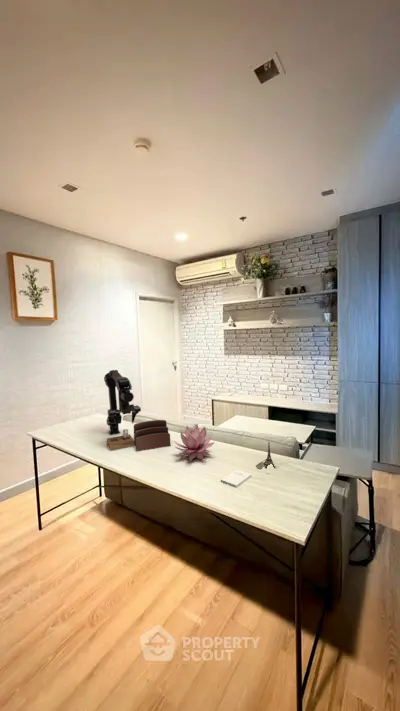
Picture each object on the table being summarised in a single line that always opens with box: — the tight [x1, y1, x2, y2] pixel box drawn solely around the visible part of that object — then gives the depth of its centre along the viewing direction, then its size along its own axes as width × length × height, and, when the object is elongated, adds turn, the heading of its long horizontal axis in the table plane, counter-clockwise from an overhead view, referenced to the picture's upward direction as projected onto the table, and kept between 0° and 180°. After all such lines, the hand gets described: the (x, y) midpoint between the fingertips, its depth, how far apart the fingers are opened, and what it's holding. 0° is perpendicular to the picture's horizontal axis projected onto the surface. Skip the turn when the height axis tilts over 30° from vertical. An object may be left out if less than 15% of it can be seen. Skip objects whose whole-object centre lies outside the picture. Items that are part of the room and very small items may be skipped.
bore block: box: [106, 433, 135, 452], centre depth 178 cm, size 12×14×4 cm
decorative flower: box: [173, 424, 215, 462], centre depth 157 cm, size 21×21×15 cm
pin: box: [122, 428, 129, 440], centre depth 179 cm, size 3×3×8 cm
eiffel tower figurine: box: [255, 441, 277, 470], centre depth 144 cm, size 15×10×13 cm
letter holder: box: [133, 419, 172, 452], centre depth 175 cm, size 10×20×14 cm, turn 109°
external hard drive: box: [220, 469, 252, 489], centre depth 132 cm, size 2×8×12 cm
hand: (125, 424), depth 179 cm, fingers open, 9 cm apart
